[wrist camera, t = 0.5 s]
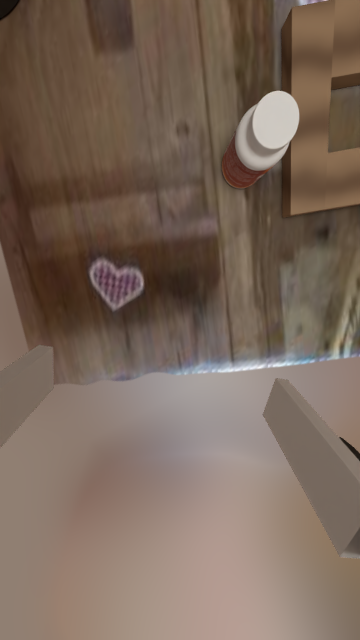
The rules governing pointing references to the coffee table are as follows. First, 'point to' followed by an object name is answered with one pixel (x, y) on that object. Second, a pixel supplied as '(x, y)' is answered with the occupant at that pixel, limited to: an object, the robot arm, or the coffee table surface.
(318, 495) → the robot arm
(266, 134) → the pill bottle
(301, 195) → the square wooden frame
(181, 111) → the coffee table surface
